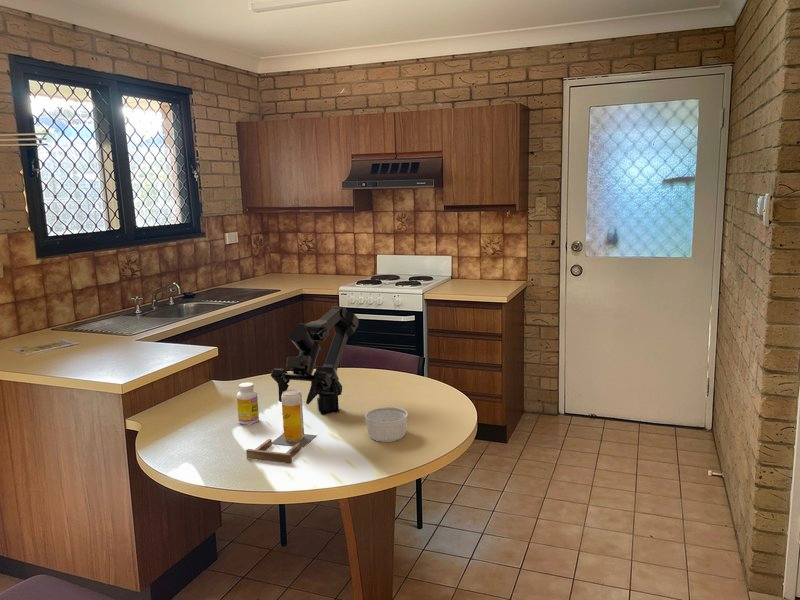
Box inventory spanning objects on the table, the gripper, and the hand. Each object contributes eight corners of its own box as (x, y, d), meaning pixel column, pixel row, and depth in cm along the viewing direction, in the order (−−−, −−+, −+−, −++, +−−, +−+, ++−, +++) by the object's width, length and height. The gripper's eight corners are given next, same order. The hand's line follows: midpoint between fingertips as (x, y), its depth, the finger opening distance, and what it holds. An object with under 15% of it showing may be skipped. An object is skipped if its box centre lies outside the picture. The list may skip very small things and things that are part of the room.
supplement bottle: (254, 425, 207) (251, 388, 205) (235, 424, 208) (232, 387, 206) (262, 418, 214) (259, 381, 211) (244, 417, 215) (241, 381, 213)
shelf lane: (264, 444, 192) (264, 436, 191) (306, 449, 187) (305, 441, 187) (246, 458, 182) (246, 450, 182) (290, 463, 178) (289, 455, 177)
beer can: (285, 435, 197) (282, 389, 195) (304, 434, 198) (302, 388, 195) (283, 443, 191) (280, 396, 189) (303, 442, 192) (300, 394, 189)
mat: (285, 432, 200) (285, 431, 200) (316, 435, 197) (316, 435, 197) (270, 443, 192) (270, 443, 192) (303, 447, 189) (303, 446, 189)
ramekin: (376, 447, 187) (376, 425, 186) (358, 432, 198) (357, 411, 197) (416, 438, 193) (415, 416, 192) (396, 424, 204) (395, 403, 203)
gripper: (271, 343, 198) (255, 388, 190) (325, 346, 192) (311, 393, 184) (285, 361, 207) (270, 404, 199) (337, 364, 201) (324, 409, 193)
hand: (293, 402), depth 194 cm, fingers open, 9 cm apart
